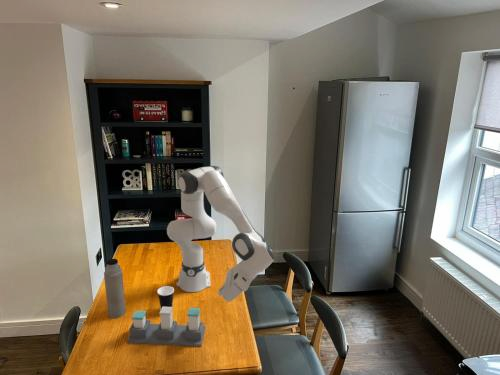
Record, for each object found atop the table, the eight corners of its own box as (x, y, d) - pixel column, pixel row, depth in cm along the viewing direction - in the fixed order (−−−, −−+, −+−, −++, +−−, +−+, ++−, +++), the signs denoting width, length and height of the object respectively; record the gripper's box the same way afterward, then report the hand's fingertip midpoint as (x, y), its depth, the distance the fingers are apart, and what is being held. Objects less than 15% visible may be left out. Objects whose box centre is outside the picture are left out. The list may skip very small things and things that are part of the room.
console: (136, 324, 168) (135, 315, 167) (205, 328, 167) (205, 318, 166) (126, 343, 157) (125, 333, 155) (201, 346, 156) (201, 336, 154)
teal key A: (136, 328, 164) (135, 310, 162) (147, 328, 164) (146, 311, 161) (133, 335, 160) (132, 317, 157) (143, 335, 160) (142, 317, 157)
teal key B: (190, 325, 163) (189, 307, 160) (200, 325, 163) (200, 308, 160) (188, 332, 158) (187, 314, 156) (198, 332, 158) (198, 314, 156)
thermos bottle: (114, 306, 181) (110, 255, 173) (129, 309, 179) (124, 258, 171) (104, 316, 173) (99, 263, 165) (119, 319, 171) (114, 266, 163)
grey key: (163, 324, 163) (162, 306, 160) (173, 324, 163) (172, 307, 160) (160, 330, 159) (159, 313, 156) (171, 331, 158) (170, 313, 156)
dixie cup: (177, 307, 182) (177, 287, 179) (169, 316, 174) (168, 296, 171) (163, 303, 184) (162, 284, 181) (155, 313, 177) (153, 293, 174)
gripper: (239, 256, 161) (217, 275, 164) (236, 281, 142) (211, 302, 145) (249, 266, 162) (227, 284, 165) (247, 292, 143) (222, 312, 146)
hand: (219, 293), depth 155 cm, fingers closed
